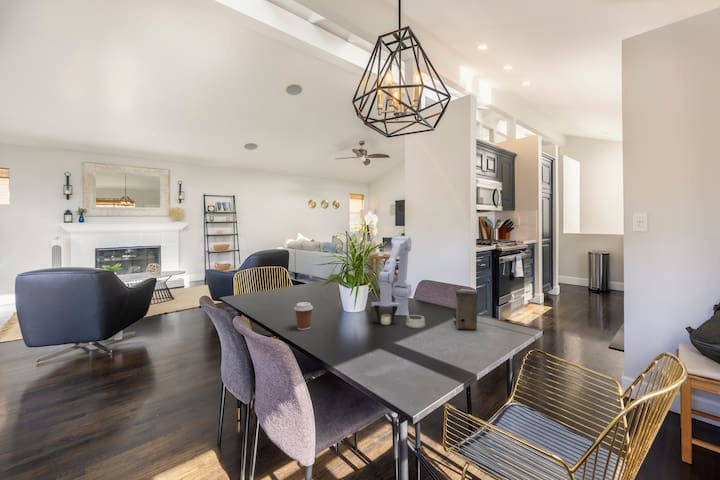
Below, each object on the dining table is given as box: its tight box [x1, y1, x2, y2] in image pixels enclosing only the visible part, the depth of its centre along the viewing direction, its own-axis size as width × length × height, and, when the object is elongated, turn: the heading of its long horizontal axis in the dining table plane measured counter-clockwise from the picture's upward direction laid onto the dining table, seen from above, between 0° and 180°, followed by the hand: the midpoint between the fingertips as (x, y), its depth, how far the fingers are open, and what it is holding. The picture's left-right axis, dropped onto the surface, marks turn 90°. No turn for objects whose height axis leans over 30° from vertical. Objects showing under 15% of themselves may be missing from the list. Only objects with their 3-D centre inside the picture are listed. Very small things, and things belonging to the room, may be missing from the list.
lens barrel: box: [405, 314, 427, 330], centre depth 166 cm, size 10×10×4 cm
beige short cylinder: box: [380, 313, 392, 326], centre depth 170 cm, size 5×5×4 cm
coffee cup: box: [293, 301, 314, 331], centre depth 163 cm, size 9×9×12 cm
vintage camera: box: [452, 288, 478, 331], centre depth 166 cm, size 10×16×20 cm, turn 174°
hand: (385, 320), depth 170 cm, fingers open, 6 cm apart
